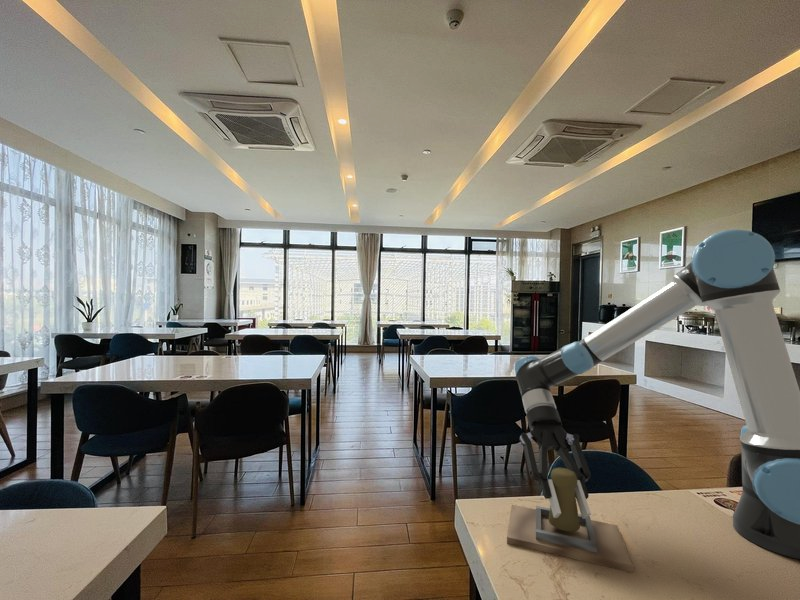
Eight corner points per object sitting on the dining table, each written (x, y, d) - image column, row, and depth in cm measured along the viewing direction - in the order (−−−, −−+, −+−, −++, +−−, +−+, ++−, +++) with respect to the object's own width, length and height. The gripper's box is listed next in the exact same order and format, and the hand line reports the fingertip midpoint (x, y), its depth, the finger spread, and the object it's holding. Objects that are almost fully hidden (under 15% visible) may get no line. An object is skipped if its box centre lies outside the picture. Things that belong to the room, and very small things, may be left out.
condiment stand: (617, 530, 78) (617, 517, 79) (632, 572, 65) (632, 556, 66) (511, 509, 86) (511, 498, 86) (506, 543, 73) (506, 529, 73)
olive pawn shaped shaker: (583, 533, 73) (583, 477, 73) (551, 529, 74) (551, 474, 74) (575, 517, 78) (575, 465, 79) (545, 513, 80) (545, 462, 80)
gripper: (573, 420, 92) (610, 523, 75) (501, 419, 92) (522, 520, 75) (583, 404, 87) (625, 510, 70) (507, 402, 87) (531, 508, 70)
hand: (572, 515), depth 72 cm, fingers closed on olive pawn shaped shaker, 5 cm apart
